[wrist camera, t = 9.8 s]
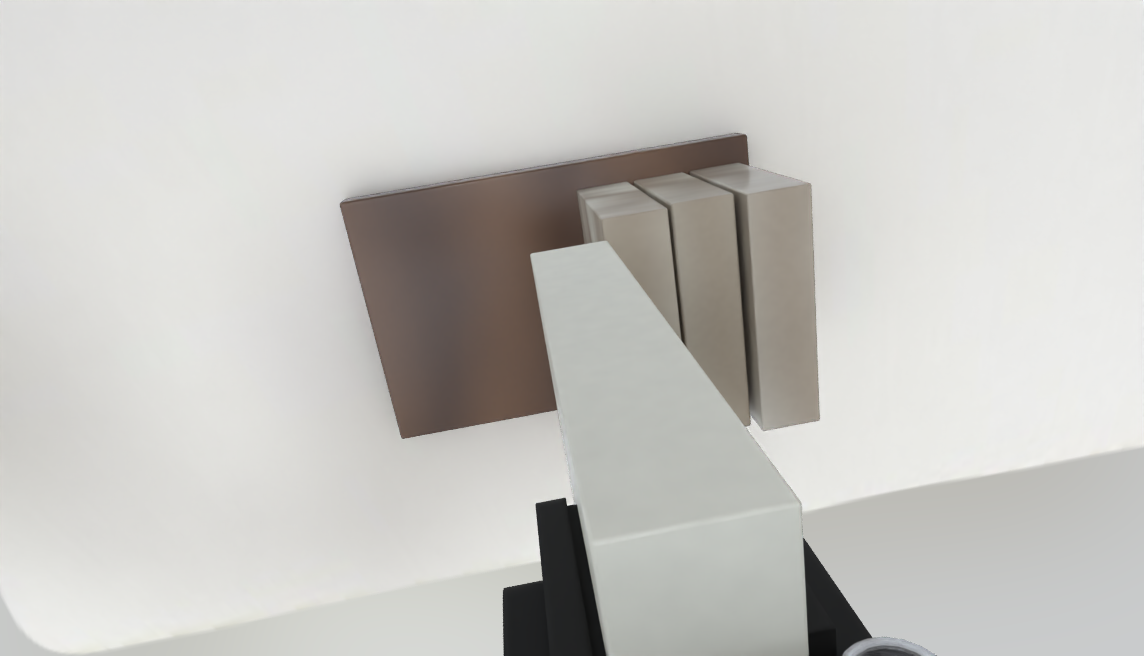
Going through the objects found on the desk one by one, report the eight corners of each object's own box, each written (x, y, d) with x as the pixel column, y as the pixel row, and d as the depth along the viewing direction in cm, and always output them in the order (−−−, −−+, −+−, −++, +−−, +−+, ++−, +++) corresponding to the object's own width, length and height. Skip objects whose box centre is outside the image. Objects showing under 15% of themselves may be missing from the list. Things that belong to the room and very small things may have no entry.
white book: (577, 519, 20) (677, 1059, 9) (529, 253, 18) (588, 542, 6) (644, 506, 20) (828, 1025, 9) (607, 239, 18) (803, 501, 6)
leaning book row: (404, 429, 30) (377, 532, 23) (344, 198, 27) (290, 237, 20) (754, 363, 31) (832, 444, 24) (738, 132, 28) (823, 146, 20)
